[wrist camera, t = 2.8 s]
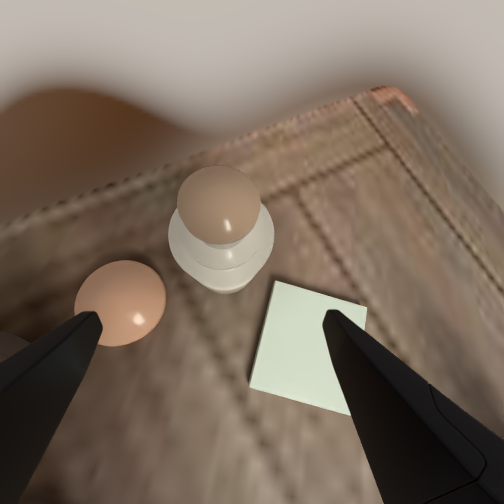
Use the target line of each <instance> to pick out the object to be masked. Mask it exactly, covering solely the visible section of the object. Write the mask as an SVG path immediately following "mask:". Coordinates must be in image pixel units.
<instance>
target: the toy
mask: <svg viewBox="0 0 504 504" xmlns="http://www.w3.org/2000/svg"><path fill="white" fill-rule="evenodd" d="M29 344H31V343H30V342H28V341H26V340H25V339H23V338H21V337H19V336H17V335H15V334H13V333H10V332H0V362H2V361H3V360H5V359H7V358H8V357H10V356H11V355H13V354H15V353H16V352H18V351H19V350H21V349H23V348H24V347H26V346H27V345H29Z"/></svg>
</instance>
